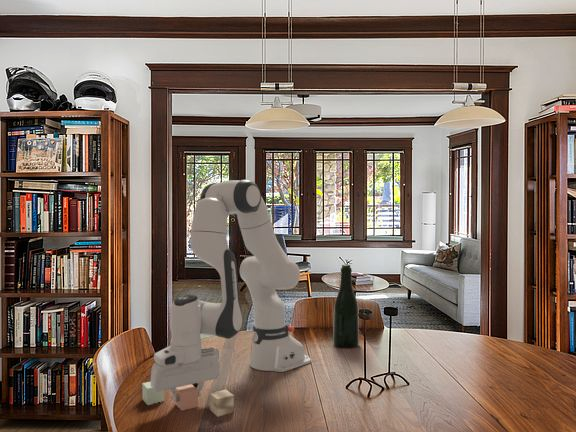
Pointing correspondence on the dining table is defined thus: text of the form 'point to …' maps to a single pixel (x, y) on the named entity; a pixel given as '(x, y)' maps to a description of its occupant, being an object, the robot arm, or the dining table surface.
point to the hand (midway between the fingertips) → (186, 399)
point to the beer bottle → (346, 313)
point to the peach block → (187, 397)
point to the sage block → (151, 394)
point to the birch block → (221, 402)
